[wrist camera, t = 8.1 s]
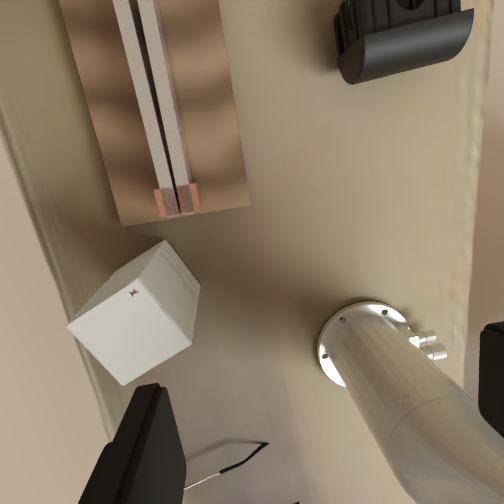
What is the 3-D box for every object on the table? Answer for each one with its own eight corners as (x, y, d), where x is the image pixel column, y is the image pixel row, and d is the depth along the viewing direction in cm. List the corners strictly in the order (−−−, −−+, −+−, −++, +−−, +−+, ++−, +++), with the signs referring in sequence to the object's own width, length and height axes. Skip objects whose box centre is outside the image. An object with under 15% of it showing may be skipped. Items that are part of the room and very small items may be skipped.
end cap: (338, 92, 34) (366, 76, 27) (327, 17, 32) (354, -21, 25) (428, 70, 34) (476, 48, 27) (422, -7, 32) (473, -50, 25)
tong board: (54, -34, 28) (7, -89, 22) (208, -54, 29) (204, -113, 23) (126, 224, 35) (105, 238, 29) (249, 203, 36) (255, 212, 30)
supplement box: (113, 271, 37) (59, 324, 24) (166, 237, 36) (138, 274, 24) (152, 318, 39) (120, 389, 26) (202, 287, 38) (194, 345, 26)
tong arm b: (114, 3, 28) (99, -19, 25) (134, -1, 28) (122, -23, 25) (166, 213, 33) (160, 218, 30) (183, 209, 33) (179, 215, 30)
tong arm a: (143, -2, 28) (132, -24, 25) (163, -4, 28) (155, -27, 25) (186, 209, 33) (182, 214, 30) (202, 206, 33) (200, 211, 30)
